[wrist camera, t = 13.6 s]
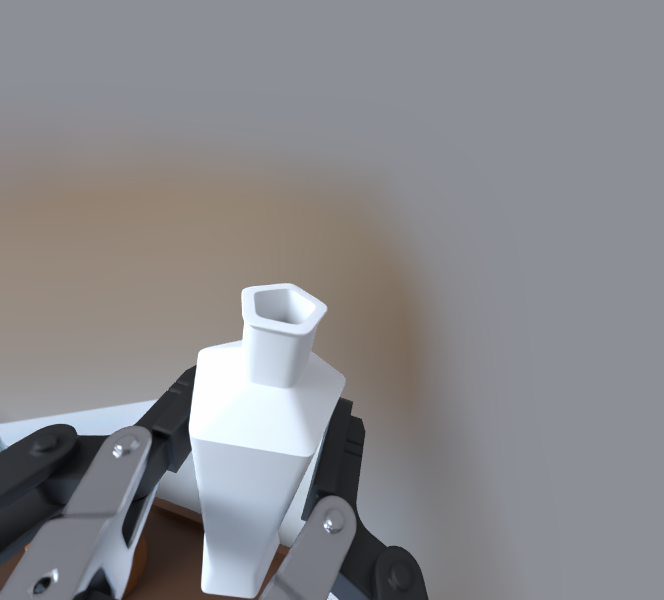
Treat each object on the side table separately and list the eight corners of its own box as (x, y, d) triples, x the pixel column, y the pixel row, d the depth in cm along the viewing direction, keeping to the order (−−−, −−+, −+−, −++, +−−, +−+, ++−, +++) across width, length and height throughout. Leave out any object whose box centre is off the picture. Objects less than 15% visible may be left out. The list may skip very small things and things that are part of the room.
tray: (295, 559, 25) (299, 551, 24) (247, 748, 18) (249, 747, 17) (24, 456, 27) (16, 443, 26) (-129, 583, 20) (-148, 573, 19)
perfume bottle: (204, 648, 12) (213, 417, 4) (180, 533, 15) (161, 271, 7) (301, 572, 14) (416, 347, 7) (266, 488, 17) (319, 262, 10)
